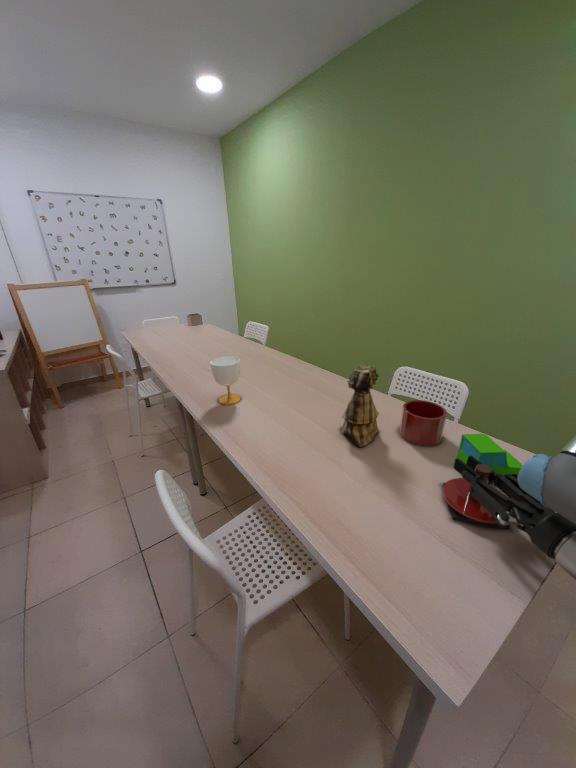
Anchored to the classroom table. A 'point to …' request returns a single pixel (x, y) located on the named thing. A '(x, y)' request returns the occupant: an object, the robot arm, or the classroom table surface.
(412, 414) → the pot
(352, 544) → the classroom table surface
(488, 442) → the toy car
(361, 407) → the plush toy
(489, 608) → the classroom table surface
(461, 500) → the lid
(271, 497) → the classroom table surface
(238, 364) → the cup
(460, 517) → the plate
